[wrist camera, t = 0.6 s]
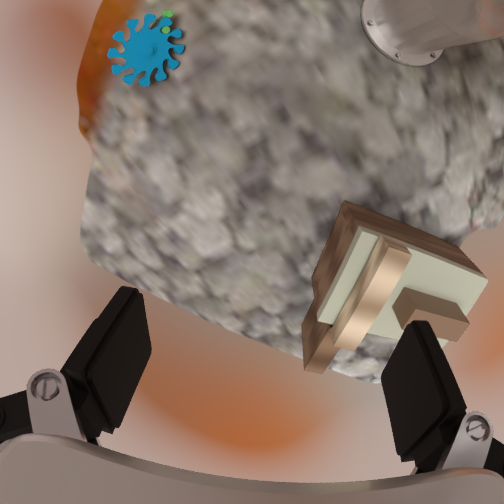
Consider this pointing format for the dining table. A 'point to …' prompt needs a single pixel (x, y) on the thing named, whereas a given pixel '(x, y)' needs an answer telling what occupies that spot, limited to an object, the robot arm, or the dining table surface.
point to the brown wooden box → (349, 219)
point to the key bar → (370, 292)
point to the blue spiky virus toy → (147, 48)
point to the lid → (409, 291)
